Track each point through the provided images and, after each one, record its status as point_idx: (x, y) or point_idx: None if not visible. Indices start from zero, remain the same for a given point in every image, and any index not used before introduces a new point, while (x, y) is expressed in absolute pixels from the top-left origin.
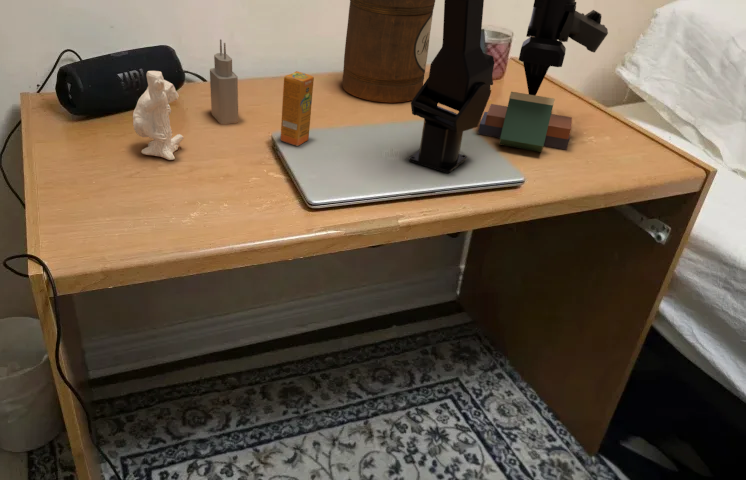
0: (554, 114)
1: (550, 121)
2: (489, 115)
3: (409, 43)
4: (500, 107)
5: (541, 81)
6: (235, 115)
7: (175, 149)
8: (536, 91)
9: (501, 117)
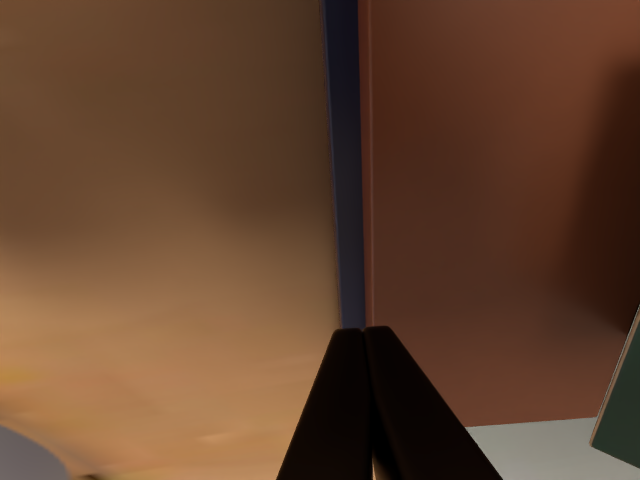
0: (377, 19)
1: (624, 32)
2: (599, 405)
3: None
4: None
5: (492, 467)
6: None
7: None
8: (408, 360)
9: (617, 354)
